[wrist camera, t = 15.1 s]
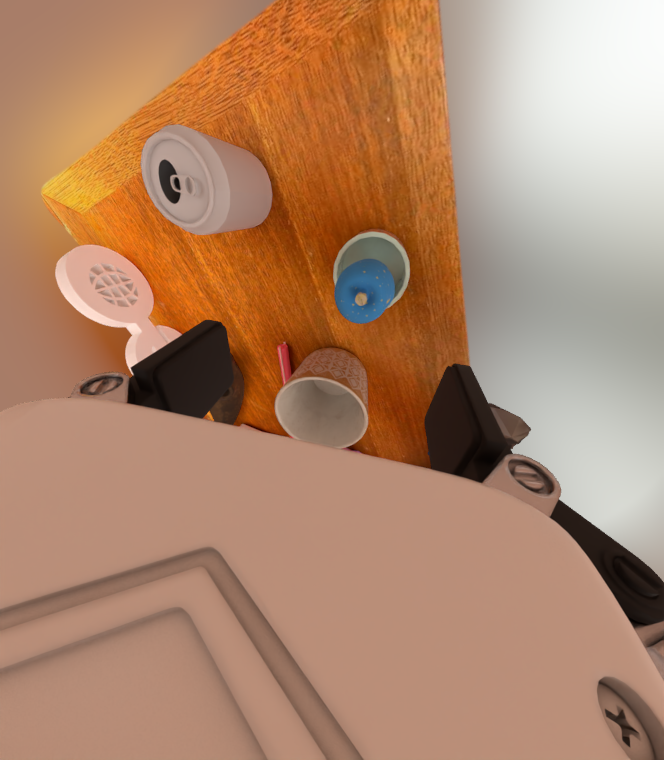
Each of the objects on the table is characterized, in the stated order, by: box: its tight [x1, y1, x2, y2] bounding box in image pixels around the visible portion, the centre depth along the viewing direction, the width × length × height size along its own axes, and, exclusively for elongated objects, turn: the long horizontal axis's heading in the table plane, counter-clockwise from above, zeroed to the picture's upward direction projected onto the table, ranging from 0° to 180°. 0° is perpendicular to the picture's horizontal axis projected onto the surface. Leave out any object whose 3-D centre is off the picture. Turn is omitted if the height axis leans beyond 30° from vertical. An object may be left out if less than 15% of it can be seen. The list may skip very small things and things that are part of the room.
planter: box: [275, 347, 368, 449], centre depth 38 cm, size 13×13×10 cm
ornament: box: [335, 259, 395, 324], centre depth 25 cm, size 5×5×15 cm
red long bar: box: [277, 341, 295, 439], centre depth 46 cm, size 24×2×5 cm
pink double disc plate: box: [55, 245, 182, 376], centre depth 38 cm, size 22×2×10 cm, turn 21°
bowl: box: [333, 229, 410, 308], centre depth 30 cm, size 8×8×5 cm
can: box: [141, 124, 272, 235], centre depth 25 cm, size 8×8×12 cm
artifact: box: [210, 353, 244, 425], centre depth 46 cm, size 9×5×20 cm
